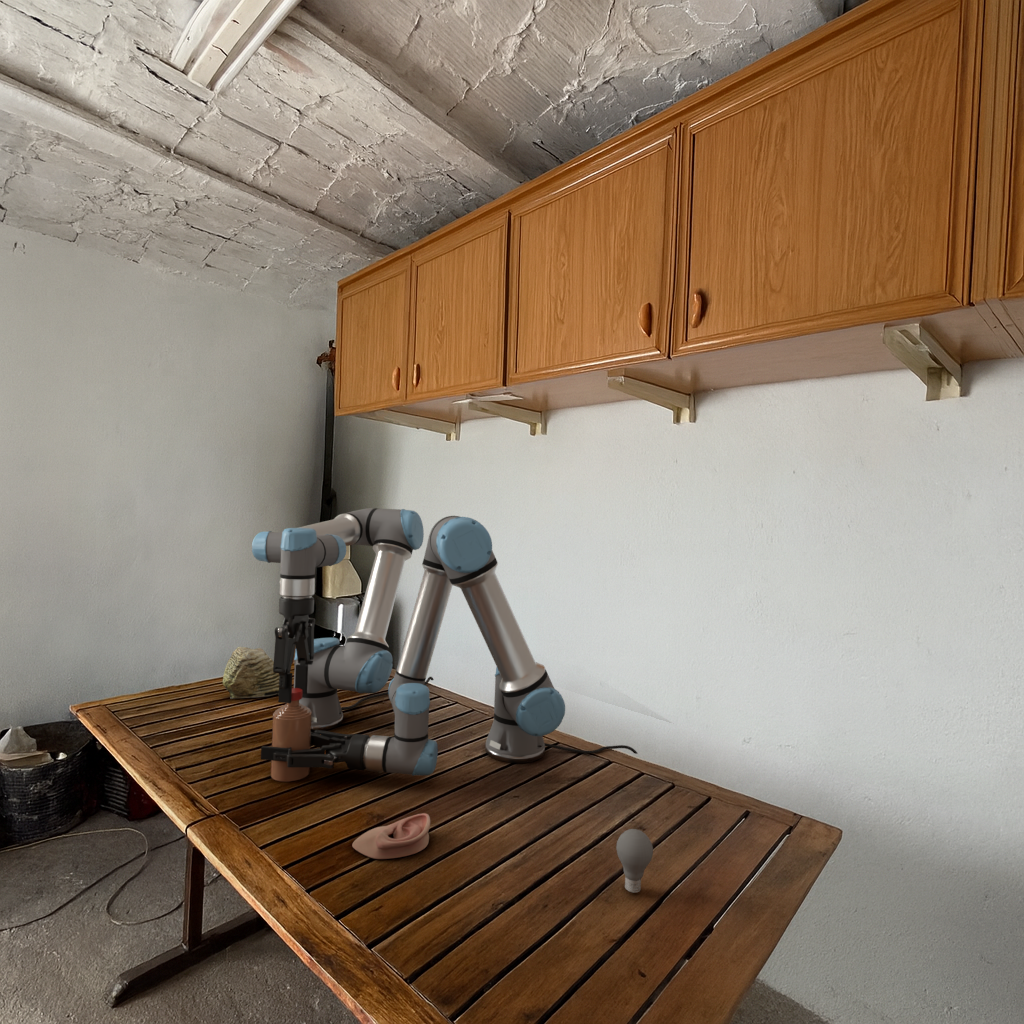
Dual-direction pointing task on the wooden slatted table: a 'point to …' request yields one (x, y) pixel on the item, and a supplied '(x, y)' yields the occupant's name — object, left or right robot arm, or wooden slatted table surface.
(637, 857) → the light bulb
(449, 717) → the wooden slatted table surface
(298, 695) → the cap
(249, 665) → the fossil
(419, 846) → the anatomical model
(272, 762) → the bottle
